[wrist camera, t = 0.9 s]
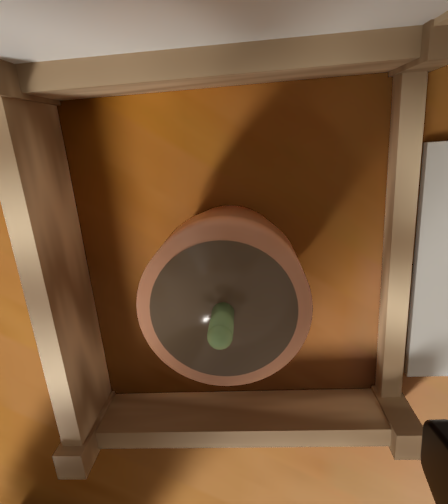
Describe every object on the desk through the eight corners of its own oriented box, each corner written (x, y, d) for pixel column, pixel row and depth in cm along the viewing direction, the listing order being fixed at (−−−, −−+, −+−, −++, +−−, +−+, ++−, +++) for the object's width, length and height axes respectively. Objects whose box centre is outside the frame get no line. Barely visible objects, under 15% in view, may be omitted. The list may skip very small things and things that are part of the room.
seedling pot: (293, 310, 19) (324, 427, 12) (177, 315, 20) (132, 429, 12) (291, 193, 17) (326, 237, 10) (163, 201, 18) (99, 249, 10)
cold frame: (395, 405, 21) (436, 478, 16) (96, 411, 22) (58, 479, 18) (425, 37, 15) (497, -4, 11) (24, 74, 17) (-56, 51, 12)
